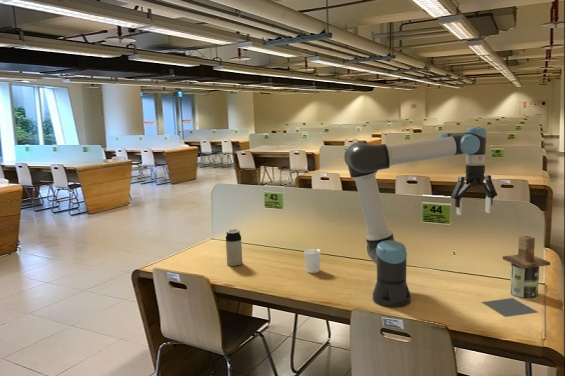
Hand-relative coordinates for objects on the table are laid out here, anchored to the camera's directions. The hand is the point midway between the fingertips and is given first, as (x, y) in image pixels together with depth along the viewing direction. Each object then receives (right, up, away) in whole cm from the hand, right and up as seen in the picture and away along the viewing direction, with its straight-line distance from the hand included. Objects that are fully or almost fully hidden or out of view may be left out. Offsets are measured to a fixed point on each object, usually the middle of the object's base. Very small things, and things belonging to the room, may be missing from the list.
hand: (473, 213), depth 198 cm
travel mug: (-107, -29, +44) cm, 119 cm away
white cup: (-67, -30, +29) cm, 79 cm away
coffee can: (+16, -33, -10) cm, 38 cm away
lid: (+16, -19, -12) cm, 27 cm away
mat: (+5, -35, -21) cm, 41 cm away
